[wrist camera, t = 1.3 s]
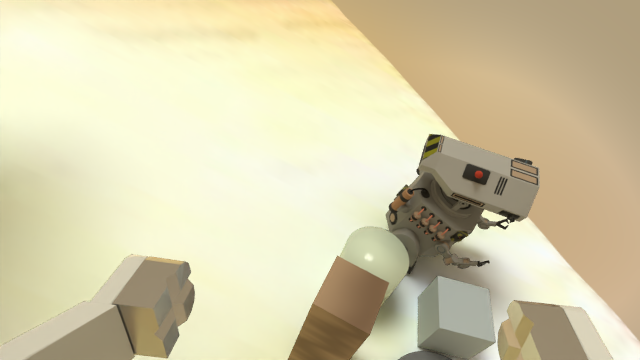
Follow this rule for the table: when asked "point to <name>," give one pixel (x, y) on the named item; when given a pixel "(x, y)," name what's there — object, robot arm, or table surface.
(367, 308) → the walnut block
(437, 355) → the slate coaster
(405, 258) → the pale green cylinder
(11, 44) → the table surface
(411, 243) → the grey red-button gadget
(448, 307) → the bluegrey cube
